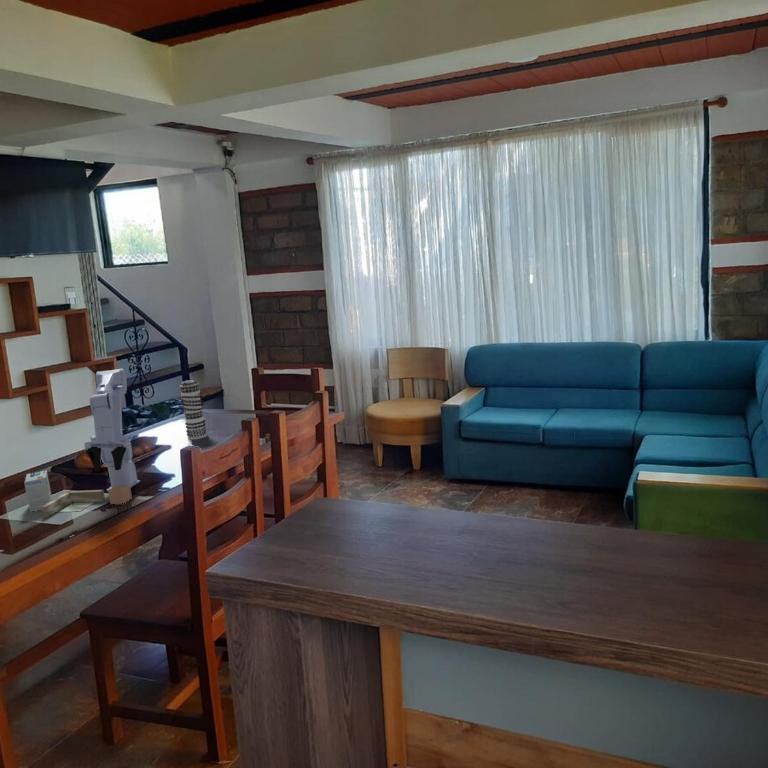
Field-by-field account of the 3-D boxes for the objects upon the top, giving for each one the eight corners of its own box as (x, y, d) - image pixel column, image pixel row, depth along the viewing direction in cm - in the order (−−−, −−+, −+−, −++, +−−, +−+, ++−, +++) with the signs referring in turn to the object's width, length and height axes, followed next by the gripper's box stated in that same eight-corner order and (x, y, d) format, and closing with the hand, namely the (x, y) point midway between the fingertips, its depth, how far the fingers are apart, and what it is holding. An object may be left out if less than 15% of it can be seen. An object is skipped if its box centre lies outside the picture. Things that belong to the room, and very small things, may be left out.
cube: (118, 499, 250) (115, 485, 250) (132, 498, 250) (129, 484, 249) (110, 504, 246) (108, 490, 245) (124, 504, 245) (121, 489, 244)
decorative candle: (211, 436, 326) (202, 380, 321) (191, 440, 321) (182, 384, 316) (203, 432, 334) (195, 378, 329) (183, 437, 329) (174, 382, 324)
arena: (70, 501, 254) (68, 491, 253) (105, 499, 252) (103, 489, 251) (43, 517, 240) (41, 507, 239) (80, 516, 237) (78, 505, 237)
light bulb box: (31, 503, 256) (25, 473, 254) (52, 499, 258) (47, 469, 256) (29, 512, 246) (23, 481, 244) (51, 508, 248) (45, 477, 246)
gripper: (92, 426, 238) (96, 468, 235) (130, 427, 250) (134, 467, 247) (79, 431, 242) (82, 472, 239) (116, 431, 254) (121, 471, 251)
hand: (108, 470), depth 243 cm, fingers open, 7 cm apart
